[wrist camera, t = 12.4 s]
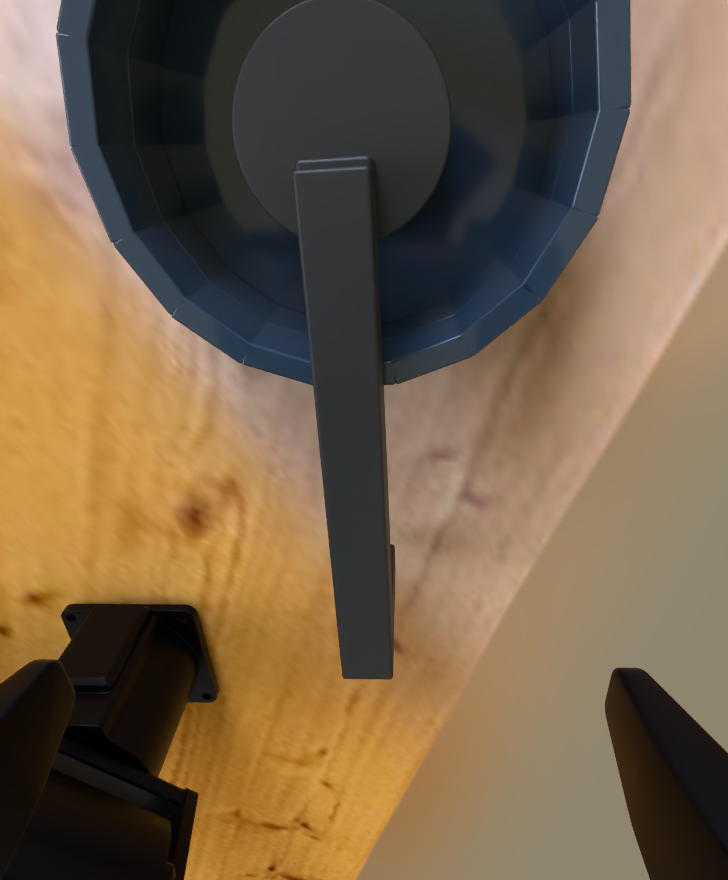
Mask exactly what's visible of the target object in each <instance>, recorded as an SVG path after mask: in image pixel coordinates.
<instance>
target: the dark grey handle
mask: <svg viewBox="0 0 728 880" xmlns="http://www.w3.org/2000/svg"><path fill="white" fill-rule="evenodd" d="M451 128H452V118H451V104H450V98H449V92H448V88H447V84H446V81H445V77H444V74H443V71H442V69H441V67H440V64H439V62H438V60H437V57H436V56H435V54H434V52H433V51H432V49H431V47H430V45H429V44H428V42H427V41H426V40H425V38H424V37H423V36H422V35H421V33H420V32H419V31H418V29H416V28H415V27H414V26H413V25H412V24H411V23H410V22H409V21H408V20H407V19H406V18H405V17H404V16H402V15H401V14H399V13H398V12H397V11H395V10H394V9H393V8H391V7H389V6H387V5H385V4H383V3H381V2H379V1H376V0H305V1H302V2H300V3H298V4H296V5H294V6H292V7H290V8H289V9H287V10H286V11H284V12H283V13H282V14H280V15H279V16H278V17H276V18H275V19H274V20H273V21H272V22H271V23H270V24H269V25H268V26H267V27H266V28H265V29H264V30H263V31H262V33H261V34H260V35H259V37H258V38H257V39H256V41H255V42H254V43H253V45H252V47H251V49H250V50H249V52H248V54H247V56H246V58H245V60H244V62H243V65H242V67H241V70H240V72H239V76H238V79H237V83H236V87H235V91H234V98H233V105H232V131H233V141H234V146H235V151H236V156H237V159H238V162H239V165H240V168H241V171H242V173H243V176H244V178H245V180H246V182H247V185H248V186H249V188H250V190H251V191H252V193H253V195H254V197H255V198H256V199H257V201H258V202H259V203H260V205H261V206H262V207H263V209H264V210H265V211H266V212H267V213H268V214H269V215H270V216H271V217H272V218H273V219H274V220H275V221H276V222H277V223H279V224H280V225H281V226H282V227H284V228H285V229H286V230H288V231H290V232H291V233H293V234H294V235H296V236H298V239H299V249H300V259H301V269H302V279H303V289H304V299H305V309H306V319H307V329H308V338H309V348H310V358H311V368H312V378H313V388H314V398H315V408H316V418H317V428H318V438H319V448H320V458H321V468H322V478H323V488H324V498H325V508H326V518H327V528H328V537H329V547H330V557H331V567H332V577H333V587H334V597H335V607H336V617H337V627H338V637H339V647H340V657H341V667H342V676H343V678H345V679H392V677H393V657H394V612H395V546H394V545H393V544H390V524H389V500H388V476H387V452H386V428H385V404H384V380H383V356H382V332H381V308H380V284H379V260H378V241H379V240H382V239H384V238H386V237H388V236H390V235H392V234H393V233H395V232H397V231H398V230H400V229H401V228H402V227H404V226H405V225H406V224H407V223H409V222H410V221H411V220H412V219H413V218H414V217H415V216H416V215H417V214H418V213H419V212H420V210H421V209H422V208H423V207H424V205H425V204H426V203H427V201H428V200H429V198H430V197H431V195H432V193H433V192H434V190H435V188H436V187H437V184H438V182H439V180H440V178H441V175H442V173H443V170H444V167H445V164H446V160H447V157H448V152H449V147H450V141H451Z"/></svg>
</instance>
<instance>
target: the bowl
mask: <svg viewBox="0 0 728 880" xmlns="http://www.w3.org/2000/svg"><path fill="white" fill-rule="evenodd" d="M302 1H305V0H61V6H60V12H59V18H58V23H57V31H58V33H56V39H57V47H58V54H59V62H60V70H61V78H62V86H63V94H64V101H65V109H66V117H67V125H68V133H69V141H70V145H71V146H72V148H71V149H72V152H73V155H74V157H75V159H76V162H77V164H78V166H79V169H80V171H81V173H82V176H83V178H84V180H85V183H86V185H87V187H88V190H89V192H90V194H91V197H92V199H93V201H94V204H95V206H96V208H97V211H98V213H99V215H100V218H101V220H102V222H103V225H104V227H105V229H106V232H107V234H108V236H109V239H110V241H111V242H112V243H114V247H115V248H116V249H117V250H118V251H119V253H120V254H121V255H122V256H123V258H124V259H125V260H126V261H127V262H128V264H129V265H130V266H131V267H132V269H133V270H134V271H135V272H136V274H137V275H138V276H139V277H140V278H141V280H142V281H143V282H144V283H145V285H146V286H147V287H148V288H149V290H150V291H151V292H152V293H153V294H154V296H155V297H156V298H157V299H158V301H159V302H160V303H161V304H162V305H163V307H164V308H165V309H166V310H167V312H168V313H169V314H171V315H172V318H174V319H175V320H177V321H178V322H180V323H181V324H183V325H184V326H186V327H187V328H189V329H190V330H192V331H193V332H194V333H196V334H197V335H199V336H200V337H202V338H203V339H205V340H206V341H208V342H209V343H211V344H212V345H214V346H215V347H216V348H218V349H219V350H221V351H222V352H224V353H225V354H227V355H228V356H230V357H231V358H233V359H234V360H236V361H237V362H239V363H243V364H244V365H247V366H250V367H253V368H257V369H260V370H263V371H267V372H270V373H273V374H277V375H280V376H283V377H287V378H290V379H293V380H297V381H300V382H303V383H307V384H310V385H313V378H312V368H311V358H310V348H309V338H308V329H307V319H306V309H305V299H304V289H303V279H302V269H301V259H300V249H299V239H298V236H296V235H294V234H293V233H291V232H290V231H288V230H286V229H285V228H284V227H282V226H281V225H280V224H279V223H277V222H276V221H275V220H274V219H273V218H272V217H271V216H270V215H269V214H268V213H267V212H266V211H265V210H264V209H263V207H262V206H261V205H260V203H259V202H258V201H257V199H256V198H255V197H254V195H253V193H252V191H251V190H250V188H249V186H248V185H247V182H246V180H245V178H244V176H243V173H242V171H241V168H240V165H239V162H238V159H237V156H236V151H235V146H234V141H233V131H232V105H233V98H234V91H235V87H236V83H237V79H238V76H239V72H240V70H241V67H242V65H243V62H244V60H245V58H246V56H247V54H248V52H249V50H250V49H251V47H252V45H253V43H254V42H255V41H256V39H257V38H258V37H259V35H260V34H261V33H262V31H263V30H264V29H265V28H266V27H267V26H268V25H269V24H270V23H271V22H272V21H273V20H274V19H275V18H276V17H278V16H279V15H280V14H282V13H283V12H284V11H286V10H287V9H289V8H290V7H292V6H294V5H296V4H298V3H300V2H302ZM376 1H379V2H381V3H383V4H385V5H387V6H389V7H391V8H393V9H394V10H395V11H397V12H398V13H399V14H401V15H402V16H404V17H405V18H406V19H407V20H408V21H409V22H410V23H411V24H412V25H413V26H414V27H415V28H416V29H418V31H419V32H420V33H421V35H422V36H423V37H424V38H425V40H426V41H427V42H428V44H429V45H430V47H431V49H432V51H433V52H434V54H435V56H436V57H437V60H438V62H439V64H440V67H441V69H442V71H443V74H444V77H445V81H446V84H447V88H448V92H449V98H450V104H451V118H452V128H451V141H450V147H449V152H448V157H447V160H446V164H445V167H444V170H443V173H442V175H441V178H440V180H439V182H438V184H437V187H436V188H435V190H434V192H433V193H432V195H431V197H430V198H429V200H428V201H427V203H426V204H425V205H424V207H423V208H422V209H421V210H420V212H419V213H418V214H417V215H416V216H415V217H414V218H413V219H412V220H411V221H410V222H409V223H407V224H406V225H405V226H404V227H402V228H401V229H400V230H398V231H397V232H395V233H393V234H392V235H390V236H388V237H386V238H384V239H382V240H379V241H378V260H379V284H380V308H381V332H382V356H383V380H384V385H393V384H395V383H396V384H400V383H402V382H405V381H408V380H410V379H413V378H416V377H419V376H421V375H424V374H427V373H429V372H432V371H435V370H437V369H440V368H443V367H445V366H448V365H451V364H454V363H456V362H459V361H462V360H464V359H467V358H470V357H471V356H474V355H475V354H477V353H478V352H479V351H480V350H482V349H483V348H484V347H485V346H487V345H488V344H489V343H491V342H492V341H493V340H494V339H496V338H497V337H498V336H499V335H501V334H502V333H503V332H504V331H506V330H507V329H508V328H509V327H511V326H512V325H513V324H514V323H516V322H517V321H518V320H519V319H521V318H522V317H523V316H524V315H526V314H527V313H528V312H529V311H531V310H532V309H533V308H534V307H536V306H537V305H538V304H539V303H541V301H542V300H543V299H544V298H545V297H546V295H547V294H548V292H549V291H550V289H551V288H552V286H553V285H554V283H555V282H556V280H557V279H558V277H559V276H560V274H561V273H562V271H563V270H564V268H565V267H566V265H567V264H568V262H569V261H570V259H571V258H572V256H573V255H574V253H575V252H576V250H577V249H578V247H579V246H580V244H581V243H582V242H583V240H584V239H585V237H586V236H587V234H588V233H589V231H590V230H591V228H592V227H593V225H594V224H595V222H596V221H597V219H598V218H597V216H598V215H599V213H600V210H601V206H602V203H603V200H604V196H605V193H606V190H607V186H608V183H609V180H610V177H611V173H612V170H613V167H614V163H615V160H616V157H617V153H618V150H619V147H620V143H621V140H622V137H623V134H624V130H625V127H626V124H627V120H628V117H629V114H630V110H629V109H628V108H630V106H631V25H630V0H376Z"/></svg>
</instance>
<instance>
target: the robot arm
mask: <svg viewBox="0 0 728 880" xmlns="http://www.w3.org/2000/svg"><path fill="white" fill-rule="evenodd" d="M185 615H186V616H185ZM61 617H62V620H63V622H64V624H65V627H66V629H67V631H68V633H69V636H70V638H71V641H70V643H69V644H68V646H67V647H66V649H65V650H64V652H63V653H62V655H61V656H60V658H59V659H58V660H44V659H39V660H34V661H32V662H30V663H28V664H27V665H25V666H24V667H23V668H21V669H20V670H19V671H17V672H16V673H15V674H13V675H12V676H11V677H9V678H8V679H6V680H5V681H4V682H2V683H1V684H0V880H184V875H185V869H186V863H187V858H188V852H189V846H190V840H191V834H192V829H193V823H194V817H195V811H196V805H197V799H198V793H197V792H194V791H192V790H190V789H188V788H186V789H185V790H184V789H182V788H179V787H177V786H175V785H173V784H171V783H168V782H166V781H164V780H162V779H160V778H158V776H159V773H160V771H161V768H162V766H163V763H164V760H165V758H166V755H167V753H168V750H169V747H170V745H171V742H172V740H173V737H174V735H175V732H176V729H177V727H178V724H179V722H180V719H181V717H182V714H183V711H184V709H185V706H186V704H187V702H208V703H209V702H213V701H215V700H216V698H217V695H218V692H219V689H218V686H217V682H216V679H215V675H214V671H213V668H212V664H211V661H210V657H209V654H208V650H207V646H206V643H205V639H204V636H203V632H202V628H201V625H200V621H199V618H198V614H197V611H196V610H195V609H194V608H193V607H191V606H189V605H160V604H71V605H68V606H67V607H66V608H65V609H64V611H63V612H62V614H61ZM605 713H606V719H607V723H608V727H609V731H610V736H611V740H612V744H613V748H614V753H615V757H616V761H617V765H618V769H619V774H620V778H621V782H622V786H623V791H624V795H625V799H626V803H627V807H628V811H629V815H630V819H631V823H632V827H633V830H634V833H635V836H636V839H637V842H638V845H639V848H640V851H641V854H642V857H643V860H644V863H645V866H646V869H647V872H648V874H649V877H650V880H728V753H727V752H726V751H725V750H724V749H723V748H722V747H721V746H720V745H719V744H718V743H717V742H716V741H715V740H714V739H713V738H712V737H711V736H710V735H709V734H708V733H707V732H706V731H705V730H704V729H703V728H702V727H701V726H700V725H699V724H698V723H697V722H696V721H695V720H694V719H693V718H692V717H691V716H690V715H689V714H688V713H687V712H686V711H685V710H684V709H683V708H682V707H681V706H680V705H679V704H678V703H677V702H676V701H675V700H674V699H673V698H672V697H671V696H670V695H669V694H668V693H667V692H666V691H665V690H664V689H663V688H662V687H661V686H660V685H659V684H658V683H657V682H656V681H655V680H654V679H653V678H652V677H651V676H649V674H648V673H647V672H645V671H644V670H642V669H639V668H616V669H615V670H613V672H612V675H611V679H610V684H609V688H608V692H607V696H606V701H605Z"/></svg>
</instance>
